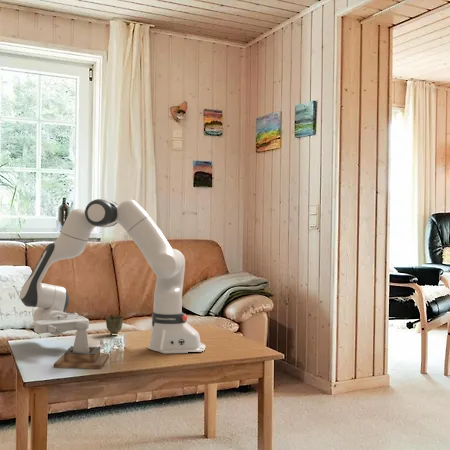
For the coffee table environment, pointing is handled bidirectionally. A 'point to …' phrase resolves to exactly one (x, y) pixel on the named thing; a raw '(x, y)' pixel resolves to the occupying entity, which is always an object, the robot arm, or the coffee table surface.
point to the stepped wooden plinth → (82, 359)
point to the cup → (114, 324)
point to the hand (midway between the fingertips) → (69, 328)
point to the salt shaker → (81, 338)
